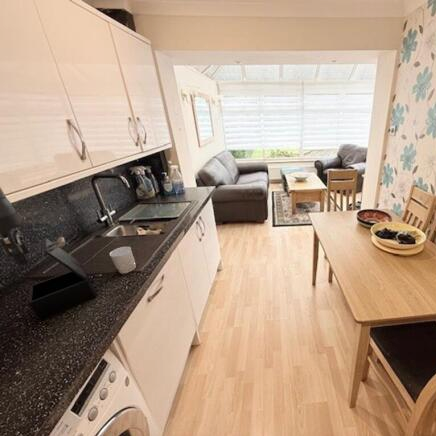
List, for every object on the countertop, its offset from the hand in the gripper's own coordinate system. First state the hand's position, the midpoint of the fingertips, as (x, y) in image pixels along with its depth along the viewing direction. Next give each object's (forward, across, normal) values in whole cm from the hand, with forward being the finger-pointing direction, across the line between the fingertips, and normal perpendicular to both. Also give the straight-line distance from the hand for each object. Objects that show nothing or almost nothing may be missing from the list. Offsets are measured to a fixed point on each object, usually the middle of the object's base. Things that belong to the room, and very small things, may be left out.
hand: (24, 258), depth 79 cm
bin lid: (+6, -2, +8) cm, 10 cm away
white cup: (+22, -8, +25) cm, 35 cm away
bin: (+23, -2, +4) cm, 23 cm away
